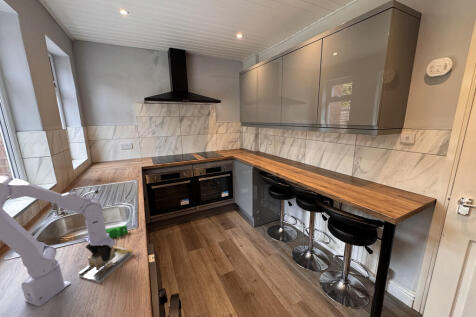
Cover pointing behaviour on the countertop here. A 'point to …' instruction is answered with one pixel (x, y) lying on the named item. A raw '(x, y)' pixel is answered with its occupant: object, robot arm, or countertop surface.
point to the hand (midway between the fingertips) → (103, 258)
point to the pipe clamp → (117, 231)
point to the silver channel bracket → (107, 266)
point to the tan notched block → (99, 259)
